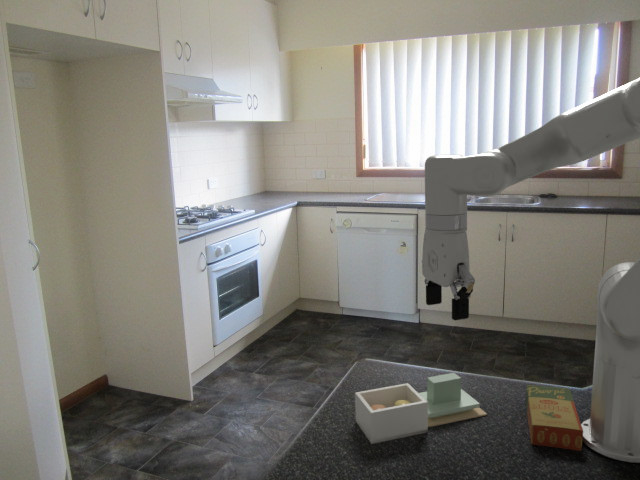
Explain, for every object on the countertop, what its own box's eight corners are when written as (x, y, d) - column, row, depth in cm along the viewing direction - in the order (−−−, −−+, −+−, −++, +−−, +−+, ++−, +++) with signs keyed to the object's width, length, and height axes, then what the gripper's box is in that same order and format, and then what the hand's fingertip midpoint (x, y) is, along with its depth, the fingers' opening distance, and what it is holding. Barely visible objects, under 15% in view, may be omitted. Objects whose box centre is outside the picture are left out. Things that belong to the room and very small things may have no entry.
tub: (408, 411, 104) (408, 383, 103) (427, 432, 97) (427, 402, 96) (355, 421, 101) (355, 392, 100) (371, 444, 94) (371, 413, 92)
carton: (530, 446, 92) (531, 423, 91) (524, 402, 107) (525, 382, 106) (582, 452, 90) (584, 429, 89) (569, 406, 105) (570, 386, 104)
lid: (457, 393, 110) (457, 365, 109) (479, 412, 102) (480, 381, 101) (409, 402, 107) (409, 373, 106) (428, 422, 99) (428, 391, 98)
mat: (459, 392, 111) (459, 390, 111) (486, 415, 102) (486, 413, 102) (402, 402, 108) (402, 401, 108) (426, 427, 98) (426, 426, 98)
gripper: (406, 218, 105) (408, 301, 108) (452, 231, 88) (452, 328, 92) (440, 215, 107) (441, 296, 110) (491, 227, 90) (490, 322, 94)
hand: (446, 311), depth 101 cm, fingers open, 9 cm apart
